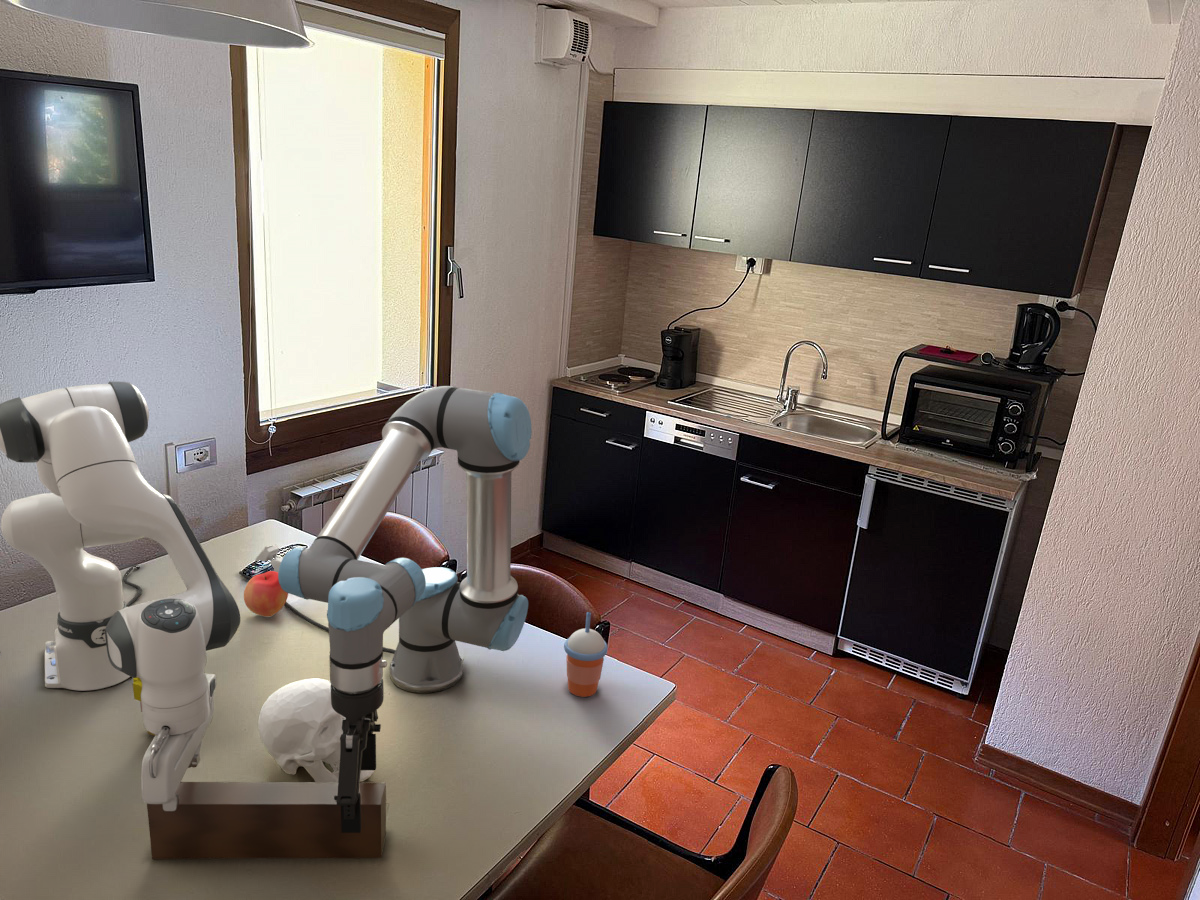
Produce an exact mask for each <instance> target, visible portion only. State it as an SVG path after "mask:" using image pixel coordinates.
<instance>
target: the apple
mask: <svg viewBox="0 0 1200 900" xmlns="http://www.w3.org/2000/svg"><path fill="white" fill-rule="evenodd" d="M288 597H289V593H287V592H285V591H284V590H283V589H282V588H281V586H280V584H279V580H278V572H275V571H268V570H267V571H266V572H264V573H259V574H255V575H254V576H252V578H251V579H249V580H248V582H247V583H246V585H245V587H244V590H243V601H244V604H245V607H247V609H248V610H249V611H250V612H252V613H253V614H255V615H257V616H261V617H265V618H269V617H273V616H275V615H276V614H278V613H279V612H280V611H281V610H282V609H283V607H285V606H284V604H285V603H286V602H288V601H287V600H288Z"/></svg>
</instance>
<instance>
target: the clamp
mask: <svg viewBox="0 0 1200 900" xmlns="http://www.w3.org/2000/svg"><path fill="white" fill-rule="evenodd" d="M280 549H281V547H279V546H278V545H277V544H272V545H266V546H264V547H263V549H262V550H261V551H260V552H259V554H258V555H257V556H256V557H255V559H254V562H255V563H256V561H259V560H262V561H268V560H271V562H270V563H269V564H271V565H272V566H273V568H274V571H275V572H278V571H279V567H280V564H281V561H282V559H283V557H284V556H278V553H279V551H280ZM273 558H274V559H273ZM272 559H273V560H272ZM270 571H271V570H270Z"/></svg>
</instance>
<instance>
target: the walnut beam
mask: <svg viewBox="0 0 1200 900" xmlns="http://www.w3.org/2000/svg"><path fill="white" fill-rule="evenodd" d="M359 793H360V797H361V832H360V833H342V832H341V805H337V800H334V796H338V783H332V782H315V781H313V782H311V781H307V782H303V781H302V782H299V781H295V782H293V781H290V782H289V781H287V782H286V781H282V782H281V781H181V782H180V784H179V786H178V788H177V790H176V792H175V794H179V804H178V806H177V808H176V810H175V811H164V810H163V804H147V803H146V811H147V818H148V819H147V822H148V831H149V841H150V850H151V859H153V860H159V859H160V860H161V859H162V860H165V859H167V860H168V859H170V860H171V859H172V860H173V859H174V860H176V859H180V860H182V859H185V860H186V859H190V860H191V859H193V860H194V859H195V860H196V859H197V860H198V859H358V858H359V859H364V858H365V859H376V858H377V859H379V858H382V855H383V850H384V845H385V841H386V835H387V782H360V783H359Z"/></svg>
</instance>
